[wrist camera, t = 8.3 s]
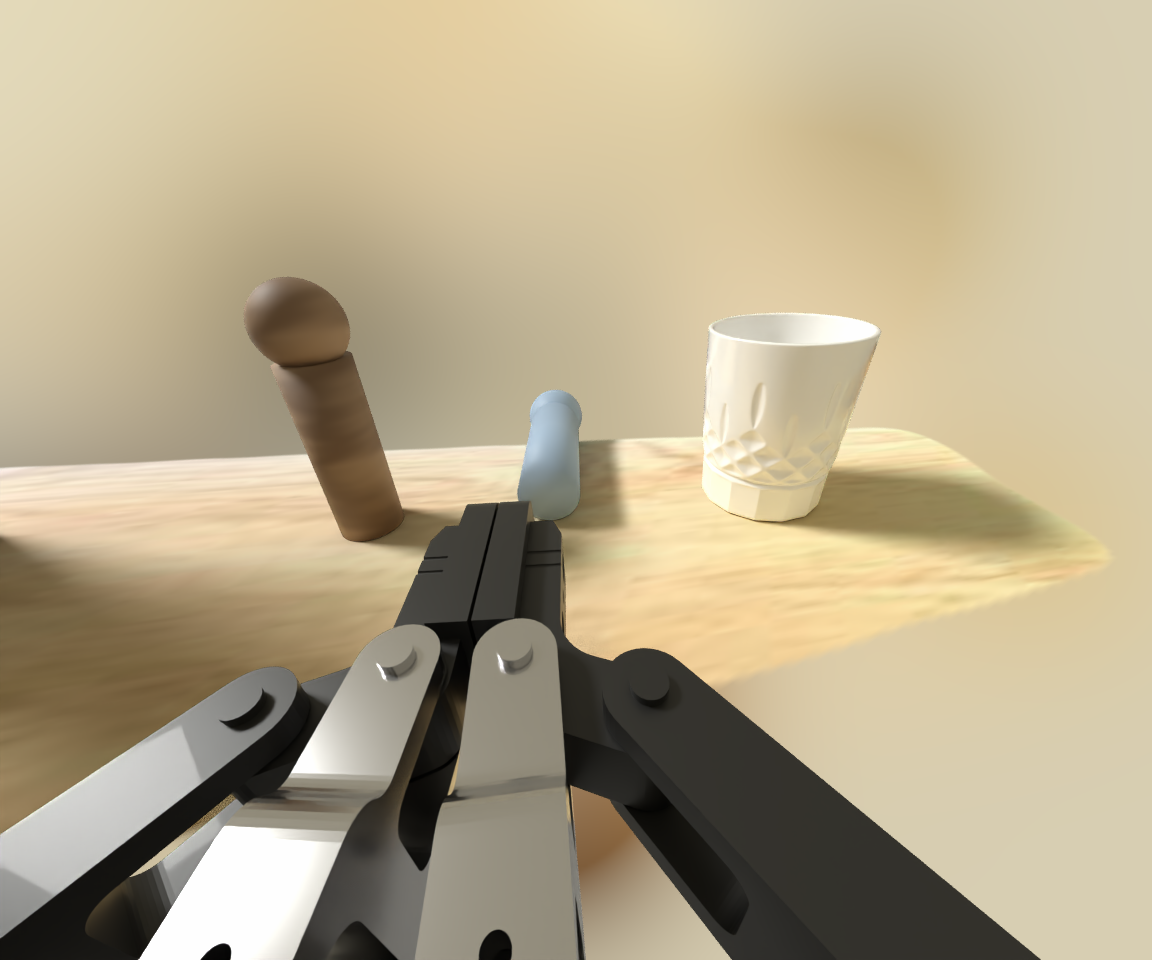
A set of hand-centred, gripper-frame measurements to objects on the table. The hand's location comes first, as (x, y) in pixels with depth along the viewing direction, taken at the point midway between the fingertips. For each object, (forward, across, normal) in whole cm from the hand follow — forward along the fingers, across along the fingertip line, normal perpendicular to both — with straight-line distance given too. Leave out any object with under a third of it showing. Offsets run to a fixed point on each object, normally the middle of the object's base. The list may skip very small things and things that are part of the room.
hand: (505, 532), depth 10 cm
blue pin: (+12, 0, +7) cm, 14 cm away
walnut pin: (+13, +11, +8) cm, 19 cm away
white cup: (+14, -13, +9) cm, 21 cm away
